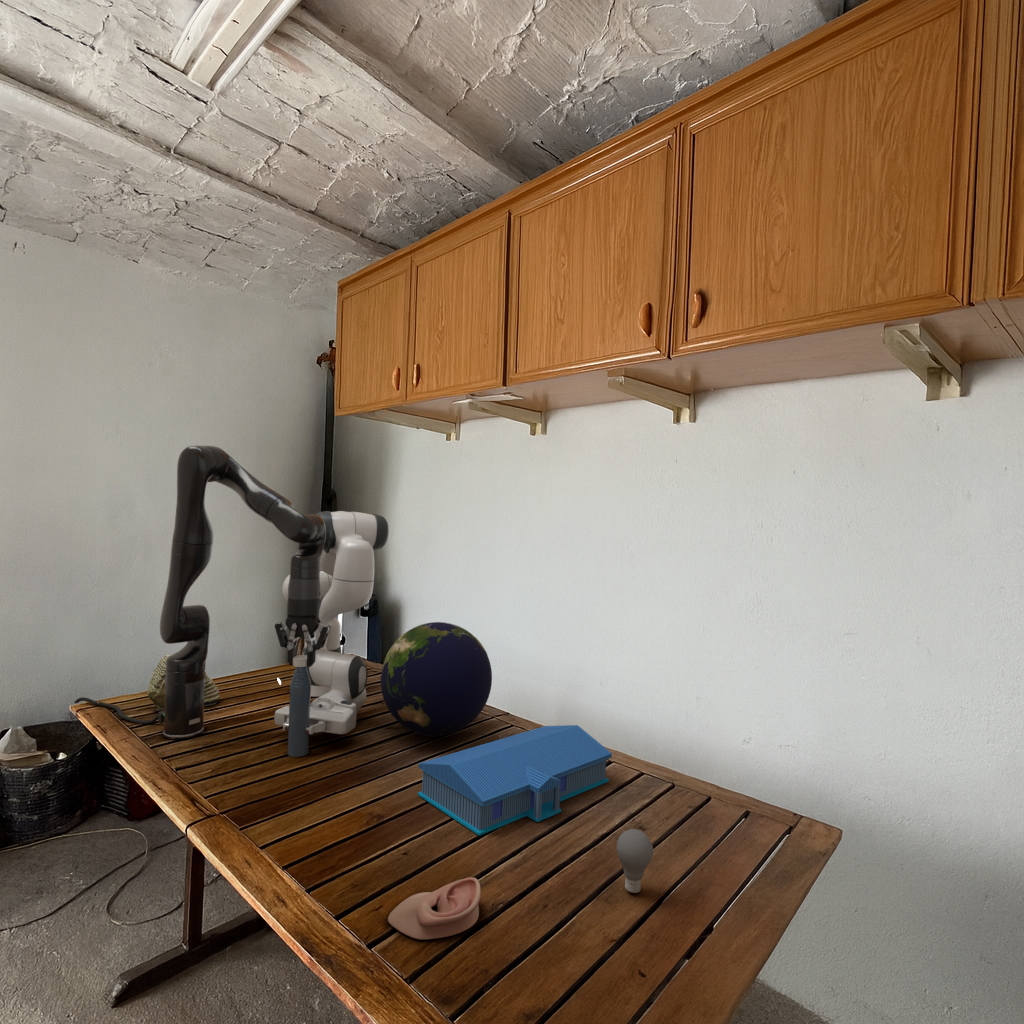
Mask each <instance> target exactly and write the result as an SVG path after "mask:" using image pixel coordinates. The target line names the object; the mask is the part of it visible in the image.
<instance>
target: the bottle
mask: <svg viewBox="0 0 1024 1024" xmlns="http://www.w3.org/2000/svg"><path fill="white" fill-rule="evenodd" d="M294 667H295V666H294ZM311 697H312V696H311V680H310V677H309V674H308V671H307V666H305V667H295V669H294V671H293V674H292V677H291V680H290V684H289V701H288V703H289V704H288V705H289V727H288V731H287V756H289V757H291V758H300V757H304V756H306V755H308V754H309V750H310V734H306V727H307V726H309V725H310V705H311V700H312V699H311Z"/></svg>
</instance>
